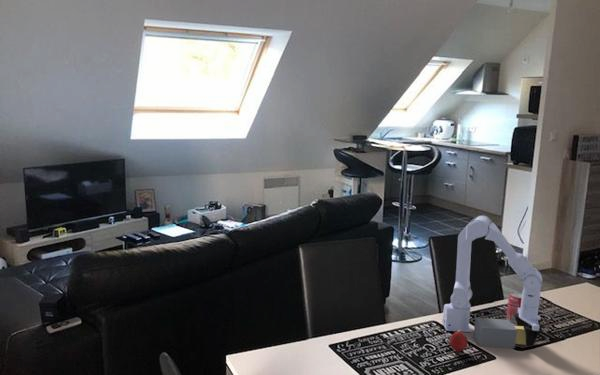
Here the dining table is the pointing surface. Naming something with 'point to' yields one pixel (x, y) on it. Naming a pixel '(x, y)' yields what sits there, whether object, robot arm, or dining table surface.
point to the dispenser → (495, 333)
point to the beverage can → (513, 307)
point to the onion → (458, 341)
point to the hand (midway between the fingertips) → (525, 340)
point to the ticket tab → (520, 335)
